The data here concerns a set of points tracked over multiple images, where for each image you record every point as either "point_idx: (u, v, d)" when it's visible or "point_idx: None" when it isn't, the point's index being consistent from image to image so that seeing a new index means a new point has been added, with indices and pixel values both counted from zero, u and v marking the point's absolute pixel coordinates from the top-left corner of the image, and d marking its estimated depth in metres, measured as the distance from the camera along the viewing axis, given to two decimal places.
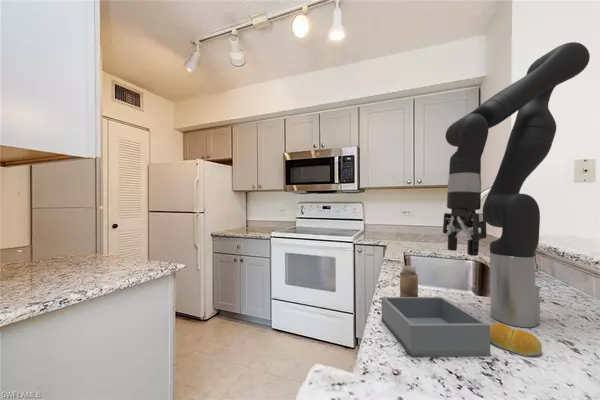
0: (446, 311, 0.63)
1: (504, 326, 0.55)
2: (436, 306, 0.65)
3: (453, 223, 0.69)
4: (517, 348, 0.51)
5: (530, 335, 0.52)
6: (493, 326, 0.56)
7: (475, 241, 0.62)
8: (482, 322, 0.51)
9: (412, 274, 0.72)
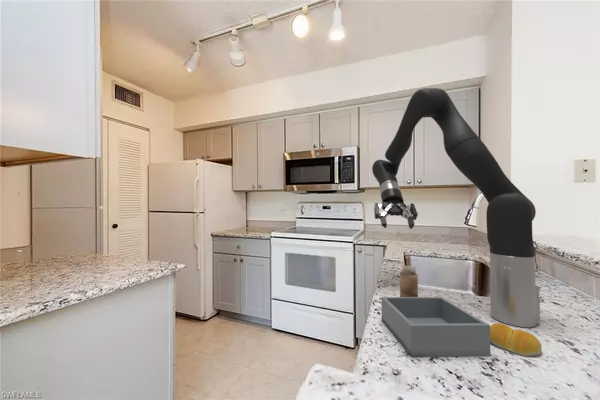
0: (446, 311, 0.63)
1: (504, 326, 0.55)
2: (436, 306, 0.65)
3: None
4: (516, 349, 0.51)
5: (530, 335, 0.52)
6: (493, 326, 0.56)
7: (380, 218, 0.89)
8: (482, 322, 0.51)
9: (412, 274, 0.72)
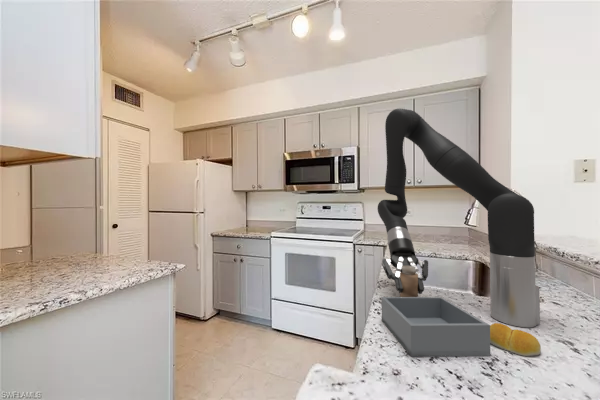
0: (446, 311, 0.63)
1: (503, 326, 0.55)
2: (436, 306, 0.65)
3: None
4: (516, 349, 0.51)
5: (529, 335, 0.52)
6: (492, 326, 0.56)
7: (395, 280, 0.75)
8: (482, 322, 0.51)
9: (412, 274, 0.72)
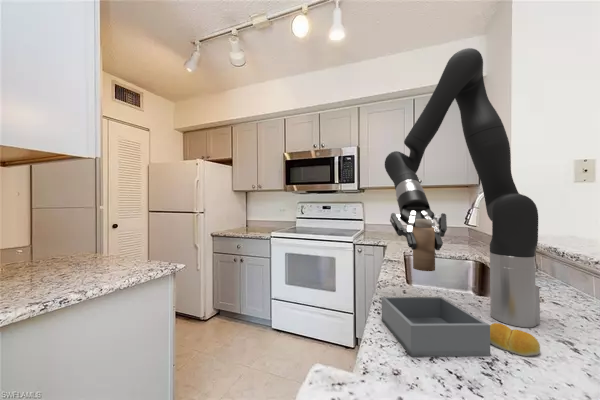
0: (446, 311, 0.63)
1: (502, 326, 0.55)
2: (436, 306, 0.65)
3: None
4: (515, 349, 0.51)
5: (528, 335, 0.52)
6: (491, 326, 0.56)
7: (406, 236, 0.63)
8: (482, 322, 0.51)
9: (428, 226, 0.60)
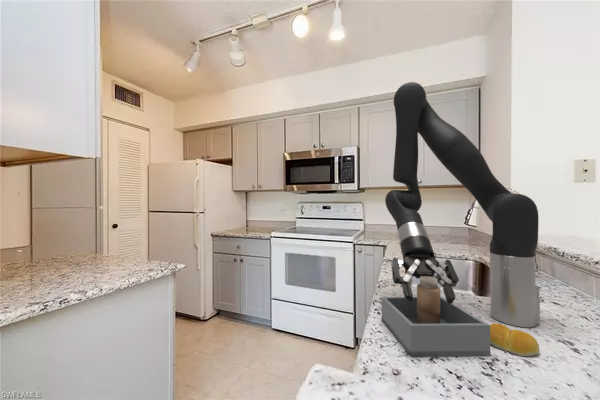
0: (446, 311, 0.63)
1: (501, 326, 0.55)
2: None
3: None
4: (514, 349, 0.51)
5: (527, 335, 0.52)
6: (490, 326, 0.56)
7: (402, 285, 0.60)
8: (482, 322, 0.51)
9: (433, 288, 0.57)
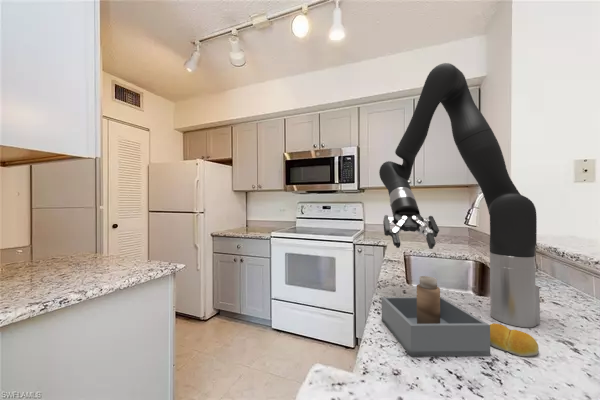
0: (446, 311, 0.63)
1: (501, 326, 0.55)
2: None
3: None
4: (514, 349, 0.50)
5: (527, 335, 0.52)
6: (490, 326, 0.56)
7: (392, 236, 0.71)
8: (482, 322, 0.51)
9: (433, 288, 0.56)
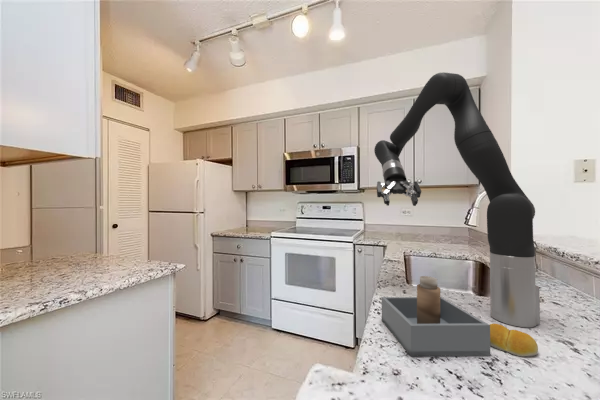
0: (446, 311, 0.63)
1: (500, 326, 0.55)
2: None
3: None
4: (513, 349, 0.50)
5: (526, 335, 0.52)
6: None
7: (383, 196, 0.87)
8: (482, 322, 0.51)
9: (433, 288, 0.56)
